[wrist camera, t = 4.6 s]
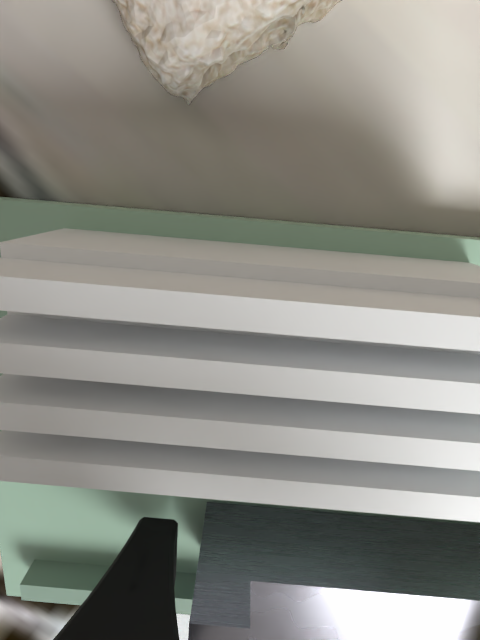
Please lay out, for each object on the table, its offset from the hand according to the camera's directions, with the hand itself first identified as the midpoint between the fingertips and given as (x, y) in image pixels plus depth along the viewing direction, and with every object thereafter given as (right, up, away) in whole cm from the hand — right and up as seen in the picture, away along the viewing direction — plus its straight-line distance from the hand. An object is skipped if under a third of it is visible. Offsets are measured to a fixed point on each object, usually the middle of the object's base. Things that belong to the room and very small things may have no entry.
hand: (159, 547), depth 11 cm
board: (+3, +3, +1) cm, 4 cm away
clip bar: (+6, 0, +2) cm, 6 cm away
